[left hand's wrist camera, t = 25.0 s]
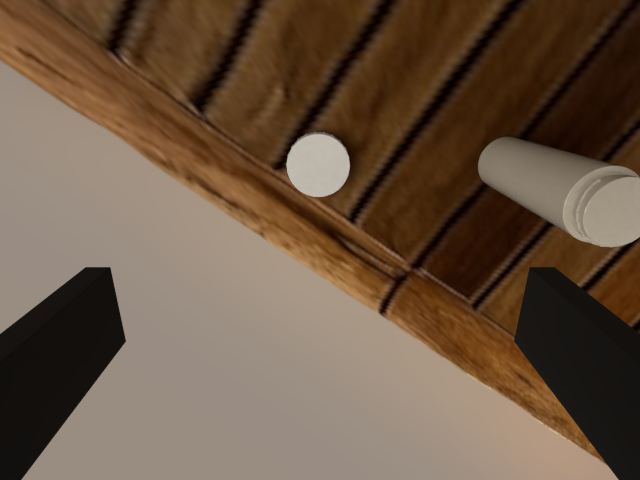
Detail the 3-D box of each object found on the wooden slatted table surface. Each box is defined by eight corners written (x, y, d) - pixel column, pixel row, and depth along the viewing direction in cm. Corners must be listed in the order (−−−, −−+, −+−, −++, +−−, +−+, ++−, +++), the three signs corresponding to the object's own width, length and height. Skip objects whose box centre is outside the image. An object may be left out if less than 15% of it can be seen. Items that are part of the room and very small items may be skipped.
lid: (360, 173, 38) (362, 177, 36) (308, 203, 39) (307, 208, 37) (329, 118, 36) (330, 120, 34) (275, 152, 37) (273, 155, 36)
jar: (467, 170, 38) (559, 224, 23) (502, 125, 36) (625, 153, 22) (505, 198, 39) (617, 266, 24) (541, 155, 37) (684, 201, 23)
